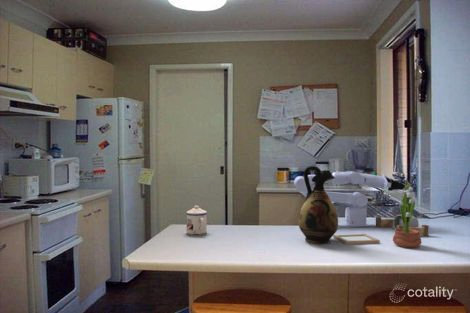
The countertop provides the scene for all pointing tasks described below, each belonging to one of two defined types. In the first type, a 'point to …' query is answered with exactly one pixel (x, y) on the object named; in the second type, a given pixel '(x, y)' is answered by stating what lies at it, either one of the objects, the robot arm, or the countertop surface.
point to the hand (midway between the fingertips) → (401, 185)
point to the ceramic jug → (318, 209)
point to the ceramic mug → (399, 221)
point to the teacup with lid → (196, 221)
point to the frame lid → (356, 239)
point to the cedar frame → (389, 223)
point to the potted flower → (407, 222)
